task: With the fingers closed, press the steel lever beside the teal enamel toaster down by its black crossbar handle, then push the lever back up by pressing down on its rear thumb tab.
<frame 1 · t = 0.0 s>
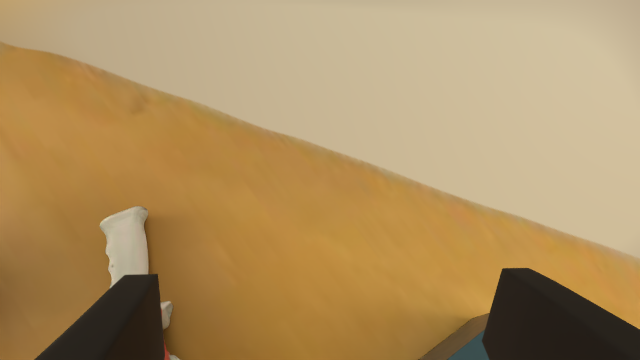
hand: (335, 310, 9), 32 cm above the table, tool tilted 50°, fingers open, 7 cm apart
tape dispenser: (132, 347, 37), on the table
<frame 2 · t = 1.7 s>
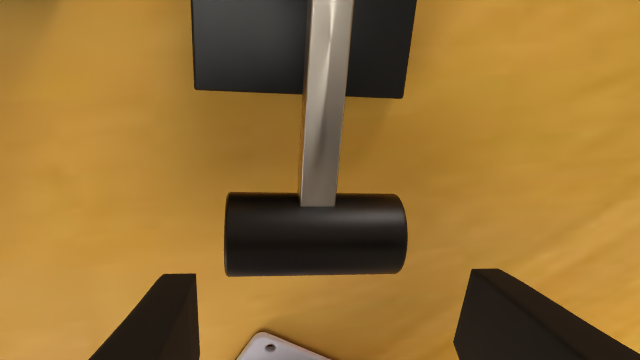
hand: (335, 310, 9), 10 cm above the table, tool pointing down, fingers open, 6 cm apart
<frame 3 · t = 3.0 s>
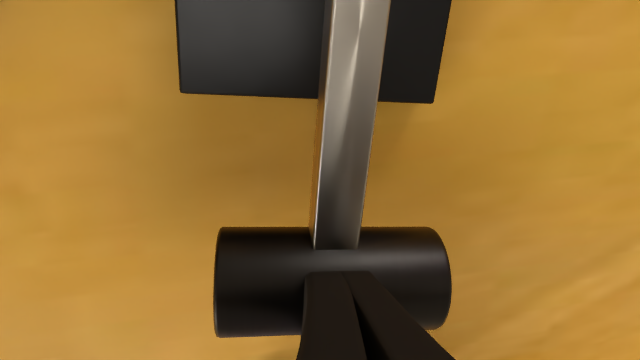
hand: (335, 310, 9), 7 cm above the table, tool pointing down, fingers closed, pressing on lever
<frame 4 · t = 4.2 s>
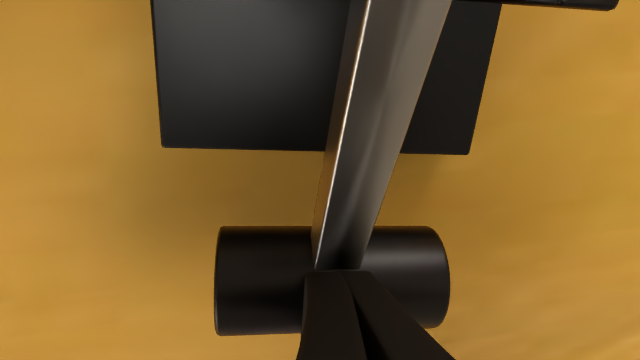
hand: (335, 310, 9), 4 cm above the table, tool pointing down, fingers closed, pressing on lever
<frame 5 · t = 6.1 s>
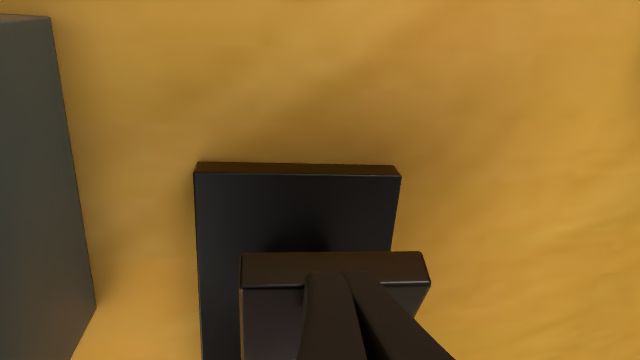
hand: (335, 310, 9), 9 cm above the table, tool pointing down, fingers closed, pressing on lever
bracket: (293, 266, 19), on the table
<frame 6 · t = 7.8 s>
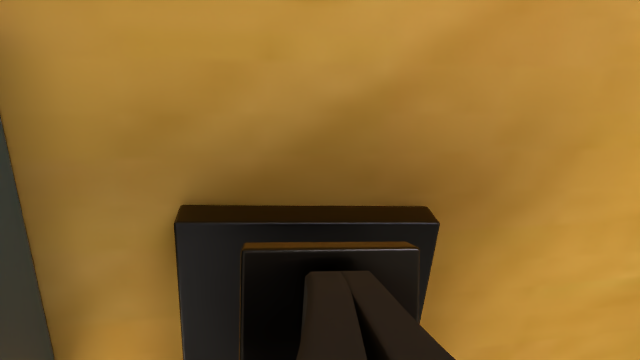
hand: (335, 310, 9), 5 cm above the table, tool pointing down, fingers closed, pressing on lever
bracket: (300, 326, 16), on the table
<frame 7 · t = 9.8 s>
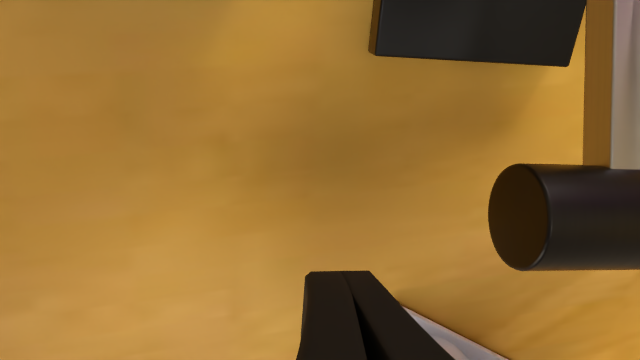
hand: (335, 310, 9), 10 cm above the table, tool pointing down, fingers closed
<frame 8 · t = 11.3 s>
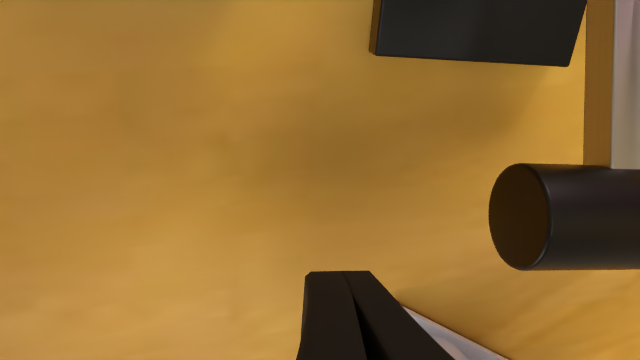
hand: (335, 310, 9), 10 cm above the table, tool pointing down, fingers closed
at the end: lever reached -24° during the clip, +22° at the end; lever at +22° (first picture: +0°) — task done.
